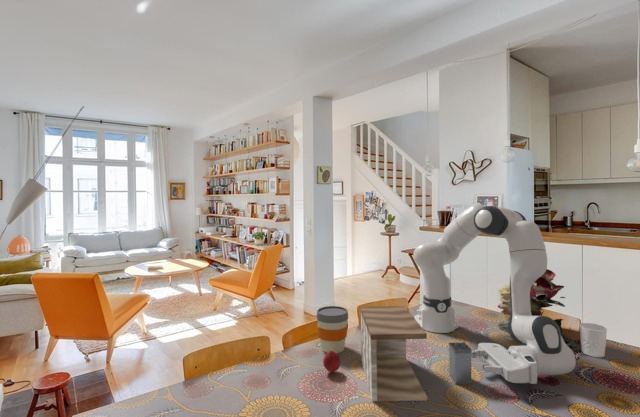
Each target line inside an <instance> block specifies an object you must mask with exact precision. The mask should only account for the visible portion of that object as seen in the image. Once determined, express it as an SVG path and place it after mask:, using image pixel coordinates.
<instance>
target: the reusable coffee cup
mask: <svg viewBox="0 0 640 417" xmlns="http://www.w3.org/2000/svg"><path fill="white" fill-rule="evenodd" d="M316 320H317V324H316V325H317V326H316V327H317V332H318V333H317V334H318V338H319V340H320V348H321V351H323V352H324V353H326V354H327V353H328V352H330V349H332V350H333V351H334V352H335V353H336V354H340V353H342V352H343V351H345V345H346V339H347V335H348V327H349V324H348V320H349V312H348V309H347V308H346V307H344V306H339V305H327V306H323V307H319V308H318V309H317V310H316Z"/></svg>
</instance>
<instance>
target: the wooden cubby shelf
mask: <svg viewBox="0 0 640 417" xmlns="http://www.w3.org/2000/svg"><path fill="white" fill-rule="evenodd" d="M427 337H428V336H427V331H426V330H424V329H422V327H421V326H420V325H419V324H418V322H417V321H416V320H415V318H414V315H412V313H411V312H410V311H409V310H408V309H407V307H406V306H405V305H391V306H390V305H386V306H385V305H384V306H383V305H381V306H380V305H379V306H376V305H375V306H360V358H361V364H362V367H363V372H364V376H365V380H366V384H367V387H368V391H369V395H370V400H371V402H407V401H408V402H410V401H411V402H412V401H415V402H416V401H417V402H418V401H421V402H423V401H428V395H427V394H426V392H425V390H424V388H423V386H422V385H421V383H420V381H419V380H418V377H417V375H416V374H415V372H414V369H413V368H412V366H411V365H410V363H409V361H408V359H407V340H427Z"/></svg>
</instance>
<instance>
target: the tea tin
mask: <svg viewBox="0 0 640 417" xmlns="http://www.w3.org/2000/svg"><path fill="white" fill-rule="evenodd" d="M448 347H449V348H448V349H449V355H448V358H449V359H448V360H449V361H448V362H449V365H448V366H449V368H448V370H449V377H450V379H451V380H452V381H453V383H454V385H471V384H472V357H471V353H472V351H473V349H472V348H471V347H470V346H469V345H468V344H467V343H466V342H449V343H448Z"/></svg>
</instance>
